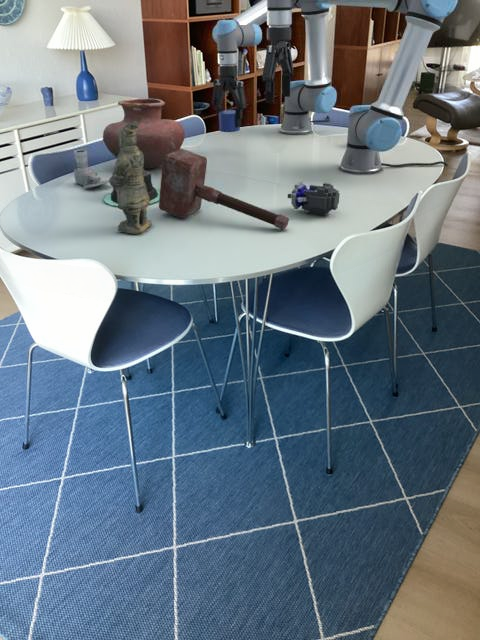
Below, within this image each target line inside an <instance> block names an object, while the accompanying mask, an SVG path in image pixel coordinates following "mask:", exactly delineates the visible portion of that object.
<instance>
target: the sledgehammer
mask: <svg viewBox="0 0 480 640" xmlns="http://www.w3.org/2000/svg"><path fill="white" fill-rule="evenodd" d="M207 164H208V159H207V158H206V157H205V156H203V155H200V154H197V153H195V152H193V151H189V150H186V149H184V148H180V149H179V150H177V151H174V152H172V153H170V154H167V155H165V156H164V158H163V165H161V166H162V167H161V176H160V187H159V190H160V198H159V200H158V208H159V210H160V211H162V212H165V213H168V214H170V215H173V216H174V217H177V218H180V219H182V220H185V219H187V218H188V217H190V216H192V215H193V214H195V213H197V212H198V211H199V210H200V209H201V207H202V201H203V200H204V201H207V202H209V203H213V204H215V205H220V206H223V207H225V208H228V209H231V210H233V211H236V212H239V213H241V214H243V215H245V216H248V217H252V218H255V219H257V220H260V221H262V222H264V223H267V224H270V225H273V226H274V228H276V229H280V230H282V231H285V230H286V228H287V227H288V224H289V221H290V218H289V217H288V216H286V215H283V214H281V213H279V214H277V213H275V212H273V211H269V210H267V209H265V208H262V207H259V206H256V205H254V204H251V203H248V202H246V201H244V200H242V199H238V198H236V197H233V196H231V195H228V194H225V193H223V192H222V191H220V190H218V189H215V188H214V187H211V186H208V185H205V181H206V175H207Z"/></svg>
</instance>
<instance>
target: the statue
mask: <svg viewBox="0 0 480 640" xmlns="http://www.w3.org/2000/svg"><path fill="white" fill-rule="evenodd" d="M138 127H139V123H138V122H137V121H133V122H131V123H128V124H127V125H126V126H125V127H124V128H123V129H121V130H120V133H119V138H118V140H119V147H120V151H119V154H118V156H117V158H116V160H115V164H114V169H113V172H114V175H113V176H112V175H111V176H110V177H109V179H108V180H109V183H108V184H110V186H111V187H112V188H113V187H114V188H115V189H116V192H117V202H118V206H117V209H119V210H122V213H123V214H124V215H125V218H126V219H125V220H122V221H120V222H119V224H118V225H117V231H118V232H121V233H126V234H134V235H136V234H142V233H143V232H145V231H146V230H147V229H148V228H150V227H151V226H152V225H153V223H152V220H150V219H148V216H147V214H148V213H147V212H148V211H147V209H148V206H149V205H150V197H149V195H148V192H147V188H146V184H145V182H144V178H143V169H144V168H143V166H144V156H143V153H142V151H141V150H139V149H138V147H137V146H136V143H137V138H136V131H137V130H138Z"/></svg>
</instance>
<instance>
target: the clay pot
mask: <svg viewBox="0 0 480 640" xmlns="http://www.w3.org/2000/svg"><path fill="white" fill-rule="evenodd" d="M165 104H166V102H165V101H163V100H162V99H159V98H132V99H130V98H129V99H122V100H118V102H117V105H118V106H121V108H122V110H123V115H124V117H123V119H122V120H121V121H117V122H112V123H109V124H107V125H106V126H105V128H104V129H103V131H102V141H103V143H104V145H105V147H106V149H107V150H108V151H109V152H110V153H111V154H112V156H114V157H115V158H116V159H117V156H118V154H119V151H120V147H119V140H118V138H119V133H120V130H121V129H123V128H124V127H125V126H126V125H127V124H128V123H131V122H133V121H137V122H138V123H139V127H138V130H137V131H136V138H137V143H136V146H137V147H138V149H139V150H141V151H142V153H143V156H144V166H143V169H155V168H158V167H161V166H163V158H164V156H165V155H167V154H170V153H172V152H174V151H177V150H179V149H182V146H183V143H184V141H185V137H186V134H185V129H184V127H183V126H182V124H181V123H180V122H178V120H174V119H168V118H167V119H165V118H163V119H162V110H163V107H164V106H165Z"/></svg>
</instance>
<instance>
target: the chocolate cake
mask: <svg viewBox="0 0 480 640" xmlns="http://www.w3.org/2000/svg"><path fill="white" fill-rule="evenodd" d="M113 175H114V171H112V173H111V176H113ZM143 178H144V182H145V184H146V188H147V192H148V195H149V197H150V204H154V203H157V202H159V198H160V188H156V187H154V185H153V182H152V174H151V172H149V171H148V170H146V169H145V168H143ZM103 200H104V202H105V203H106V204H108V205H109V206H115V207H118V202H117V192H116V189H115V188H114V187H112V191H111V193H108V194H107V195H106V196H104V198H103ZM150 204H149V205H150Z"/></svg>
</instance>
